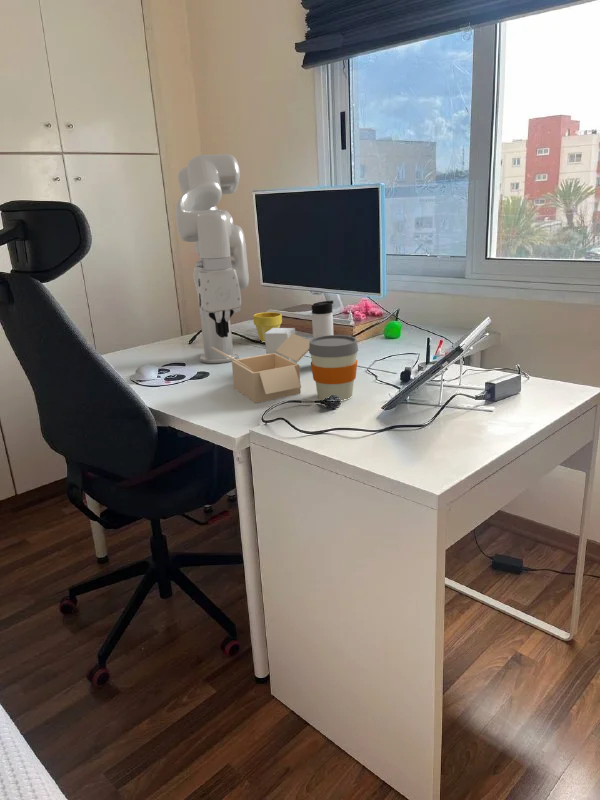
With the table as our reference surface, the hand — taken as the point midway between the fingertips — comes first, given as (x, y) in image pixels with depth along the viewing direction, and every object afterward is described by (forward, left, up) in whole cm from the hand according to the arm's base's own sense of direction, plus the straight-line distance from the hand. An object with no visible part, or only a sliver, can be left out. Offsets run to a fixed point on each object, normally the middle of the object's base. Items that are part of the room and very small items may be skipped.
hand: (222, 336), depth 156 cm
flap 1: (+1, +2, -6) cm, 6 cm away
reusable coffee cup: (+16, +24, -17) cm, 33 cm away
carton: (+1, +11, -17) cm, 20 cm away
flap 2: (+1, +20, -6) cm, 21 cm away
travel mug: (-11, +36, -17) cm, 41 cm away
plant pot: (-53, +36, -17) cm, 66 cm away
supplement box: (-14, +23, -17) cm, 32 cm away
